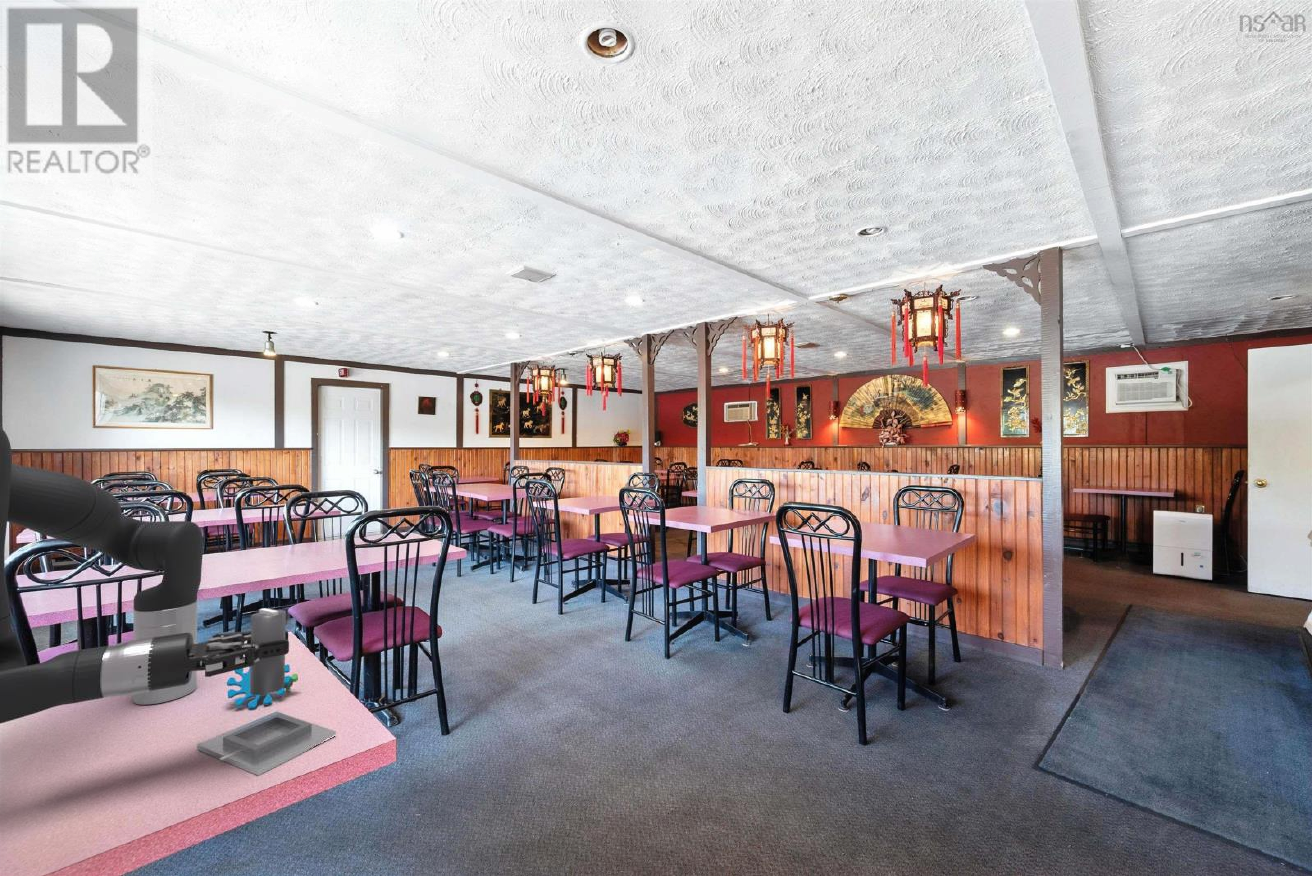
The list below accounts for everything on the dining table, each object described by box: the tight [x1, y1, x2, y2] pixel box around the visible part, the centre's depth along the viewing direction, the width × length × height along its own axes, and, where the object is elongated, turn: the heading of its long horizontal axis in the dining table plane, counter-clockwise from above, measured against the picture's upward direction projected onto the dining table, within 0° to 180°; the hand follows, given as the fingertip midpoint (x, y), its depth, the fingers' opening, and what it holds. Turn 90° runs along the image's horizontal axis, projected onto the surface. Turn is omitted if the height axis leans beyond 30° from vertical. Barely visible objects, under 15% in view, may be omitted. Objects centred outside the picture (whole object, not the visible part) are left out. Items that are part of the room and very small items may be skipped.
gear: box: [226, 663, 299, 710], centre depth 106 cm, size 11×6×10 cm
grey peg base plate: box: [196, 711, 337, 776], centre depth 90 cm, size 16×13×2 cm
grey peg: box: [250, 608, 287, 696], centre depth 90 cm, size 5×5×13 cm
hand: (287, 641), depth 91 cm, fingers closed on grey peg, 4 cm apart
